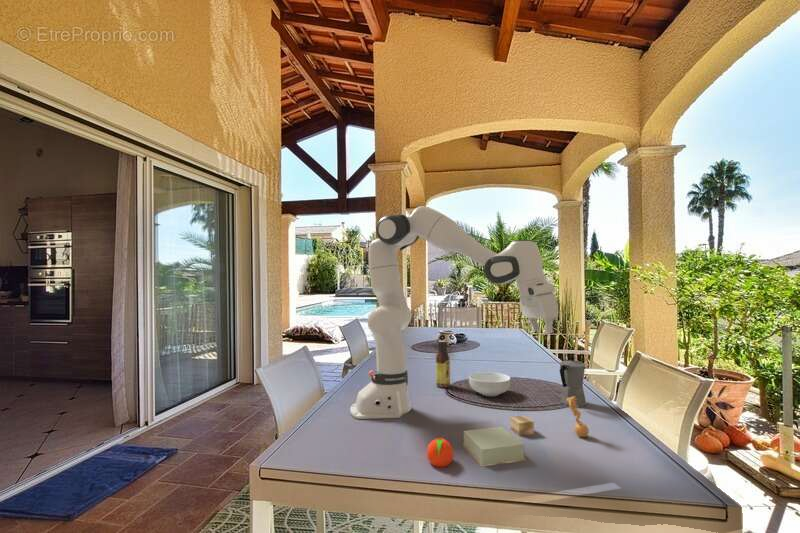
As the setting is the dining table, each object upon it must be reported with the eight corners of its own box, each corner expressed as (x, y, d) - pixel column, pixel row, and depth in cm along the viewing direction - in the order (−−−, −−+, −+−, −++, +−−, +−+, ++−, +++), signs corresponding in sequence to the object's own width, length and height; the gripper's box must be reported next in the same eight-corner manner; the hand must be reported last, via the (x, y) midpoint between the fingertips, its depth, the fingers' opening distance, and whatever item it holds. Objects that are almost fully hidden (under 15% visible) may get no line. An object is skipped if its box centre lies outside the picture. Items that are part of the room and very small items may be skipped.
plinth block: (482, 465, 99) (482, 449, 99) (463, 445, 111) (463, 430, 111) (524, 459, 102) (523, 444, 102) (501, 440, 114) (501, 426, 114)
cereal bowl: (515, 391, 163) (515, 374, 163) (503, 402, 149) (503, 384, 149) (477, 385, 172) (477, 369, 172) (462, 395, 158) (462, 378, 158)
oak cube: (519, 439, 117) (518, 423, 117) (510, 433, 122) (510, 417, 122) (534, 437, 118) (533, 421, 118) (525, 431, 123) (524, 415, 123)
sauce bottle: (449, 388, 168) (448, 342, 168) (435, 387, 169) (434, 342, 169) (450, 384, 174) (450, 340, 175) (436, 383, 176) (436, 339, 176)
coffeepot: (569, 396, 155) (568, 351, 156) (593, 402, 148) (592, 355, 148) (549, 405, 146) (548, 357, 146) (574, 412, 138) (573, 361, 139)
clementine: (453, 476, 96) (452, 447, 96) (425, 474, 97) (424, 445, 97) (453, 460, 104) (453, 434, 104) (428, 458, 105) (427, 432, 105)
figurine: (587, 443, 113) (587, 402, 114) (565, 439, 116) (565, 399, 117) (589, 432, 121) (588, 394, 121) (568, 429, 124) (568, 391, 124)
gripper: (512, 291, 133) (521, 331, 132) (536, 289, 113) (547, 336, 112) (530, 288, 134) (538, 327, 133) (557, 285, 113) (567, 332, 112)
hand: (542, 331), depth 122 cm, fingers open, 8 cm apart
